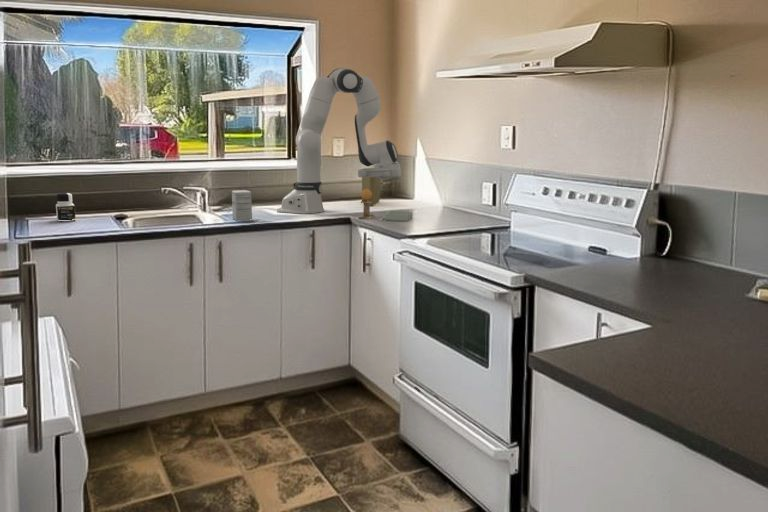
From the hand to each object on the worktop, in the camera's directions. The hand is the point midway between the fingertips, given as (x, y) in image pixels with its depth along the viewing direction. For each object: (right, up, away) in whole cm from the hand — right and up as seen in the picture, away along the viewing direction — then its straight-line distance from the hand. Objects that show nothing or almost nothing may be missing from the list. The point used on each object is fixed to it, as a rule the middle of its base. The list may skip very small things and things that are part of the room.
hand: (374, 174), depth 344 cm
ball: (-3, -13, -10) cm, 16 cm away
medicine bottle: (-134, -22, -20) cm, 138 cm away
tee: (-4, -20, -8) cm, 23 cm away
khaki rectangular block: (-2, -11, +41) cm, 42 cm away
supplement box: (-59, -22, -14) cm, 64 cm away
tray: (+11, -21, -12) cm, 27 cm away
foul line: (+4, -21, -11) cm, 24 cm away
